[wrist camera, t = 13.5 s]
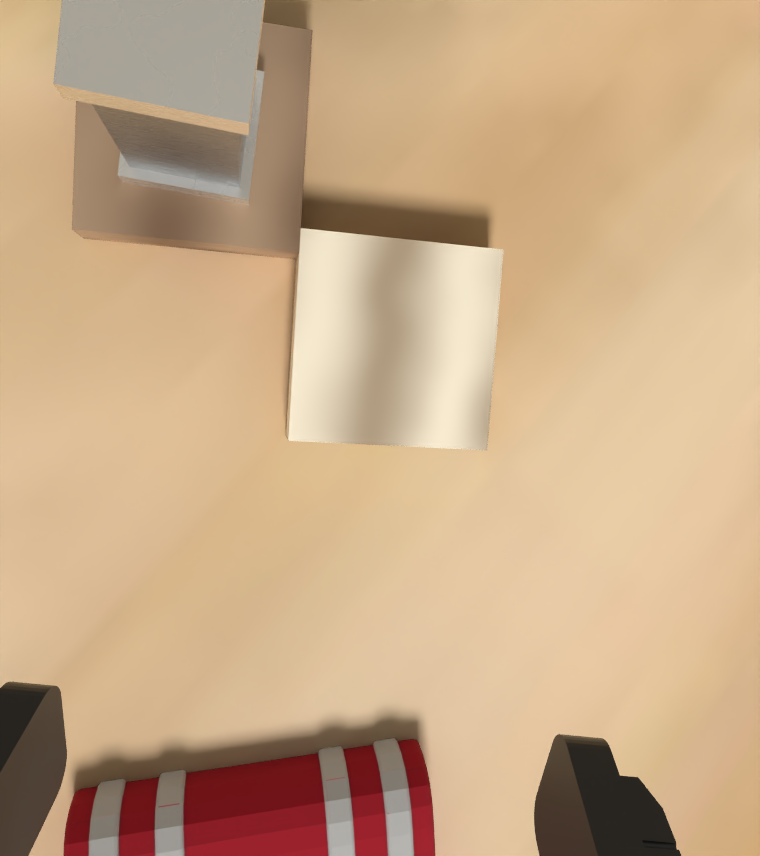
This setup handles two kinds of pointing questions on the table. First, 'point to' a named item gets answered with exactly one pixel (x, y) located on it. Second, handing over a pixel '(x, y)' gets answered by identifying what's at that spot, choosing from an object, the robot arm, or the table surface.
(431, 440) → the stand
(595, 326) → the table surface
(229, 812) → the fire alarm
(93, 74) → the block
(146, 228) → the stand
